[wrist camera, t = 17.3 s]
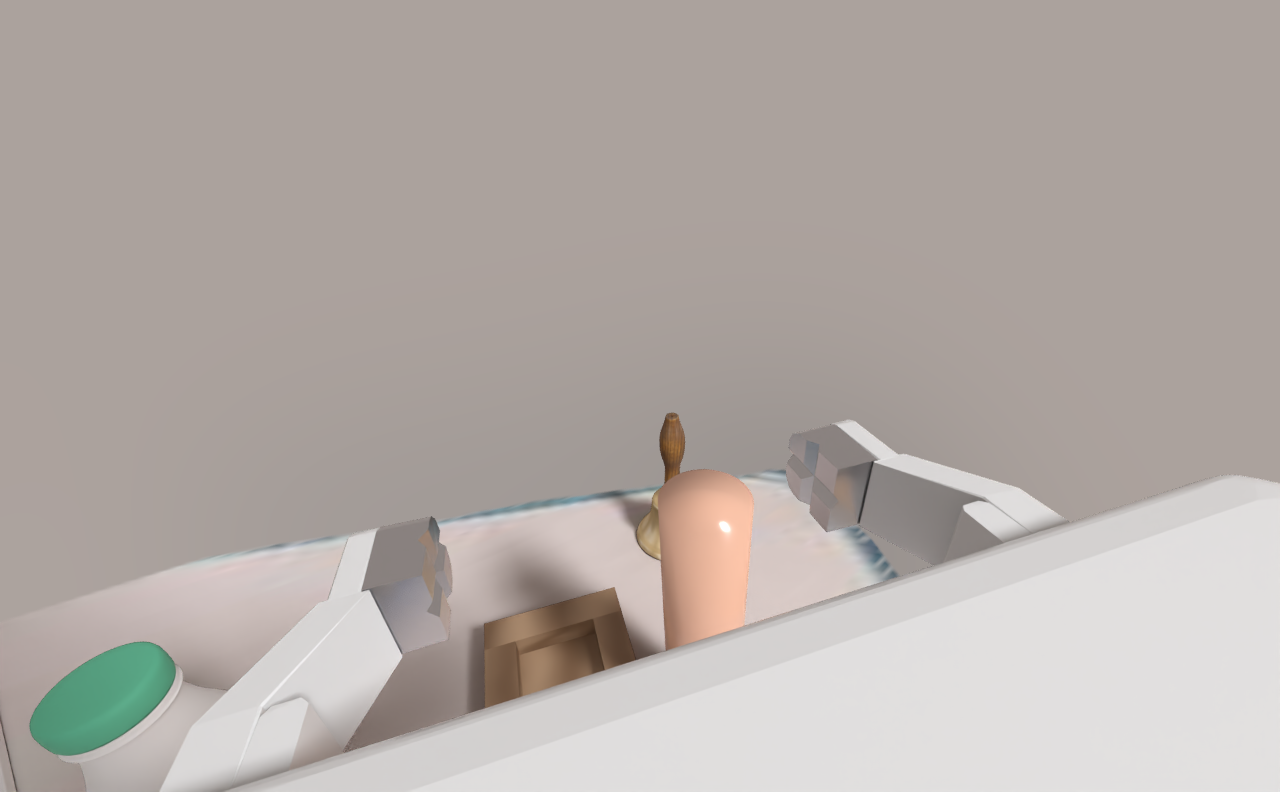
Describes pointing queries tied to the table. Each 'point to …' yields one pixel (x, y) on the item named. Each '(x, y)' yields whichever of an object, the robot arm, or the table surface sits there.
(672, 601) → the tall peach cylinder
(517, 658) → the pocket block
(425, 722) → the table surface
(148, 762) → the milk bottle
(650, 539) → the hand bell
